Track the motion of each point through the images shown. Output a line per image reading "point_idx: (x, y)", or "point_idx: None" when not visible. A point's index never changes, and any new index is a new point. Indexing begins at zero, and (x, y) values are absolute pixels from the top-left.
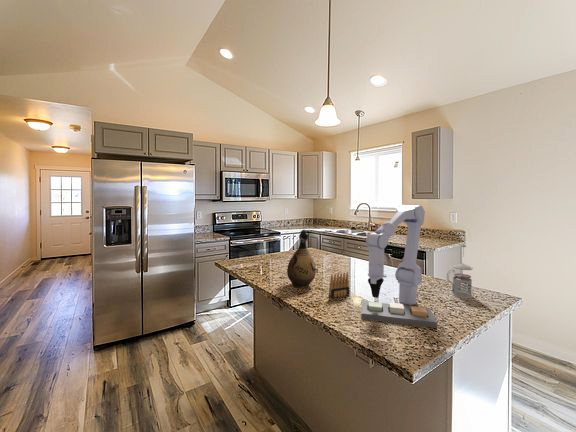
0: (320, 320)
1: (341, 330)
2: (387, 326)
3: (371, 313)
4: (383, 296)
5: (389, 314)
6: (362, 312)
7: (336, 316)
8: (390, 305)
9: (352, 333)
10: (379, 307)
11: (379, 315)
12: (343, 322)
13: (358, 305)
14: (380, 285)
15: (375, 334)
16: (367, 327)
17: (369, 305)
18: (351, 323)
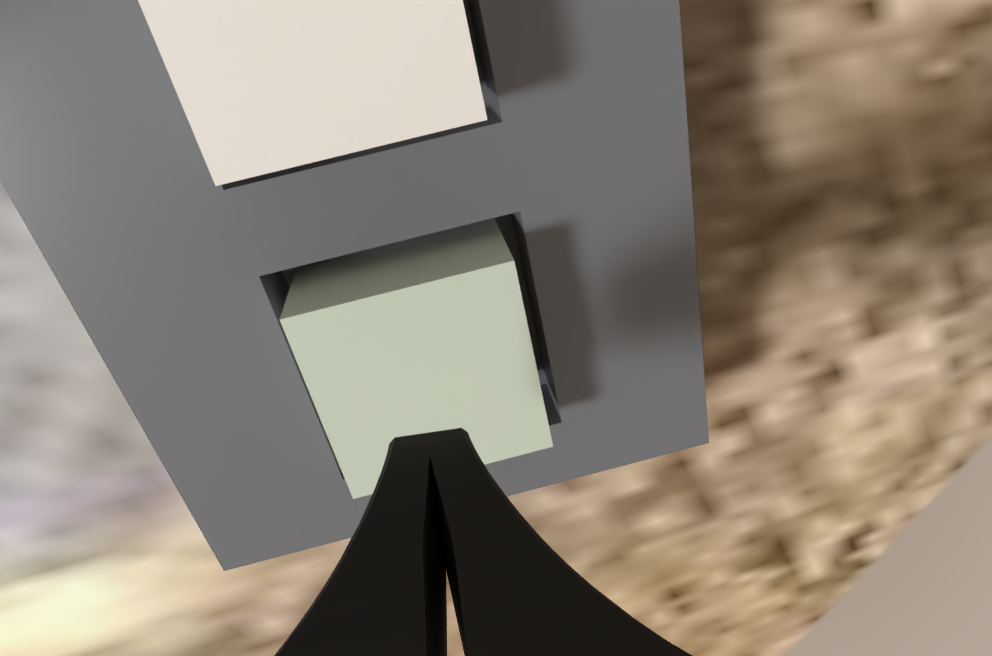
0: (789, 646)
1: (941, 459)
2: (704, 74)
3: (662, 343)
4: None
5: (584, 93)
6: (674, 442)
7: (653, 596)
8: (385, 133)
9: (984, 365)
10: (520, 297)
11: (693, 229)
12: (767, 505)
13: (201, 555)
14: (657, 640)
15: (967, 162)
16: (812, 285)
17: (524, 443)
18: (765, 443)
